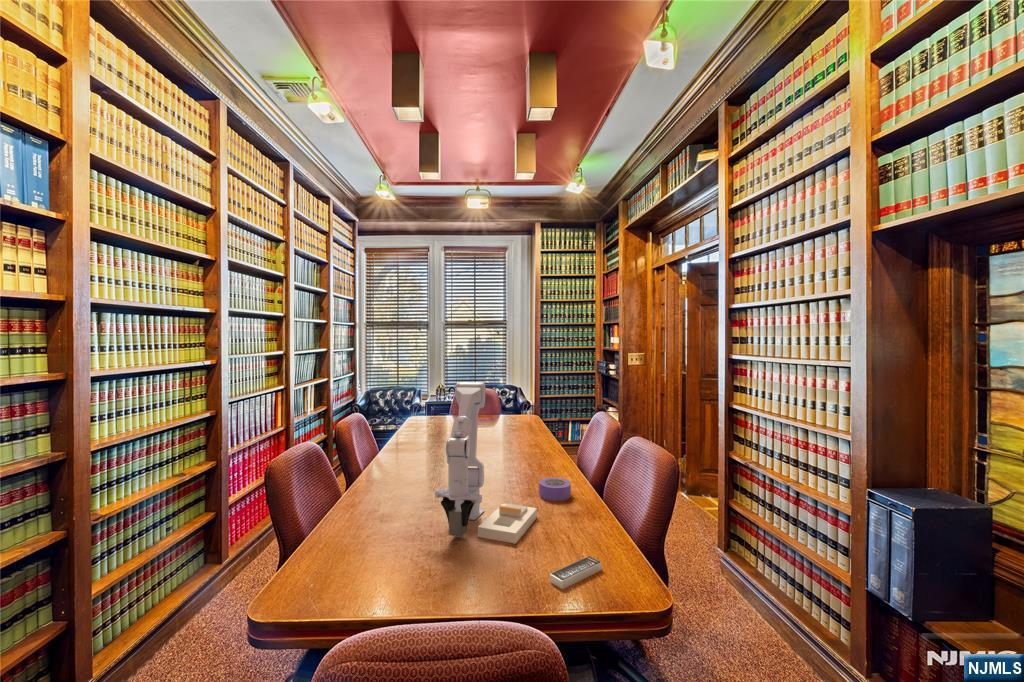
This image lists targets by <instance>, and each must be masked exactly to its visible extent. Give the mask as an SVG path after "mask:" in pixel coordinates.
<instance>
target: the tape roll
mask: <svg viewBox="0 0 1024 682" xmlns="http://www.w3.org/2000/svg"><path fill="white" fill-rule="evenodd" d="M538 484H539V486H538V489H539V490H538V491H539V493H538V495H539V497H540V498H541V499H543V500H546V501H551V502H561V501H566V500H569V499H571V494H572V493H571V488H572V485H571V482H570V481H569V480H568V479H566V478H562V477H544V478H542V479H540V480H539V483H538Z"/></svg>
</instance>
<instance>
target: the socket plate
mask: <svg viewBox="0 0 1024 682" xmlns="http://www.w3.org/2000/svg"><path fill="white" fill-rule="evenodd" d="M506 504H507V503H501V505H504V506H505V505H506ZM537 518H538V508H537V507H532V506H531V507H530V506H527V511H526V512H525V513H524V514H523V515H522V516H521V517H520V518H519V517H512V516H506V515H499V507H497V508H496V509H495V510H494V511H493V512H492V513H491V514H490V515H488V517H487V518H486V519H485V520H484V521H482V522H481V524H479V525H478V526H477V537H478V538H482V539H486V540H487V539H488V540H493V541H498V542H504V543H510V544H517V542H519V540H520V539H521V538H522V537H523V535H524V534H525V533H526V532H527V530H528V529H529V528H530V527H531V526H532V524H533V523H534V521H536V520H537Z"/></svg>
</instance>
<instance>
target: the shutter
mask: <svg viewBox="0 0 1024 682" xmlns="http://www.w3.org/2000/svg"><path fill="white" fill-rule="evenodd" d="M505 504H506V505H505V506H504V505H502V504H500V505H499V506H498V508H499V515H506V516H512V517H519V518H520V517H521V516H522V515H523V514H524V513H525V512H526V511H527V507H528V506H525V505H519V504H514V503H505Z"/></svg>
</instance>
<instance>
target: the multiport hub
mask: <svg viewBox="0 0 1024 682" xmlns="http://www.w3.org/2000/svg"><path fill="white" fill-rule="evenodd" d="M602 567H603V563H602V561H600V560H598V558H597V559H596V558H595V557H593V556H590V555H589V556H586V557H584V558H581V559H579V560H577V561H575V562H573V563H570V564H568V565H566V566H564V567H560V568H559V569H557V570H554V571H553V572H550V573H549V577H550V578H549V583H551V584H552V585H554V586H556V587H557V588H559V589H561V590H564V589H566V588H568V587H570V586H572V585H574V584H576V583H579V582H580V581H582V580H584V579H586V578H589V577H591V576H593V575H594V574H596V573H599V572H601V571H602V569H603V568H602Z"/></svg>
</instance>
